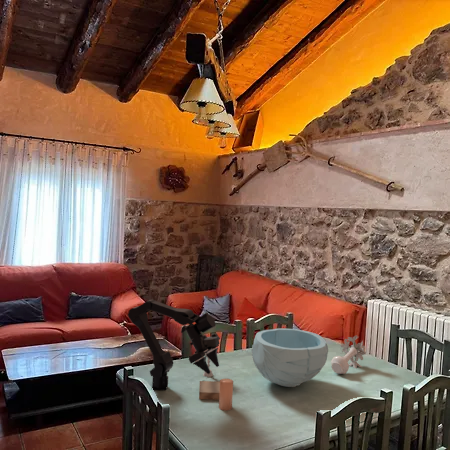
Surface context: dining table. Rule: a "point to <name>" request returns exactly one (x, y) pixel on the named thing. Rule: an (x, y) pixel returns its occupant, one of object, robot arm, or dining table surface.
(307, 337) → the bowl
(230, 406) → the terracotta cylinder
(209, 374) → the chalice
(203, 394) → the walnut plinth
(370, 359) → the dining table surface
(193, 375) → the dining table surface
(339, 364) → the flower vase
